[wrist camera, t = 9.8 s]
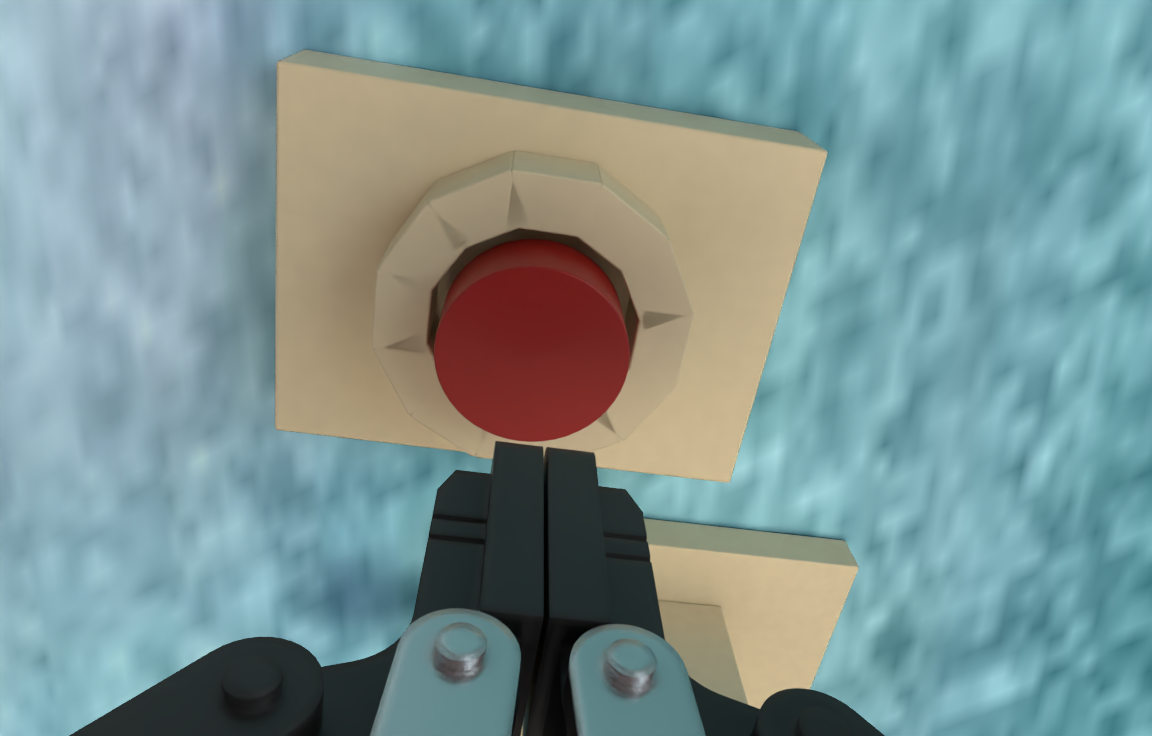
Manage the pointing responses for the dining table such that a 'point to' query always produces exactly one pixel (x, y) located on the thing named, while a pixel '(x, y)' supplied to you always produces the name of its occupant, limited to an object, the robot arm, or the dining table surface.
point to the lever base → (748, 604)
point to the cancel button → (532, 341)
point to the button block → (513, 212)
